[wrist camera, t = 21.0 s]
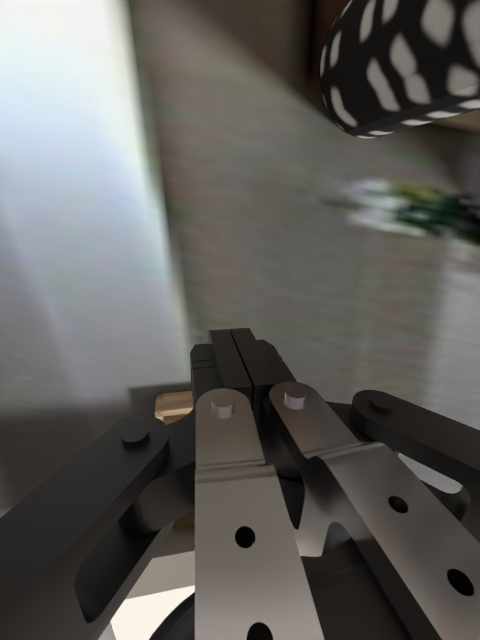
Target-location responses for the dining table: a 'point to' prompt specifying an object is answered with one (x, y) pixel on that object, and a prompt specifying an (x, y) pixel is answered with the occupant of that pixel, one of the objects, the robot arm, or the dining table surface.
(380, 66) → the white-spotted black cylinder
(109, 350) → the dining table surface
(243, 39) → the dining table surface
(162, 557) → the white open block
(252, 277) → the dining table surface
